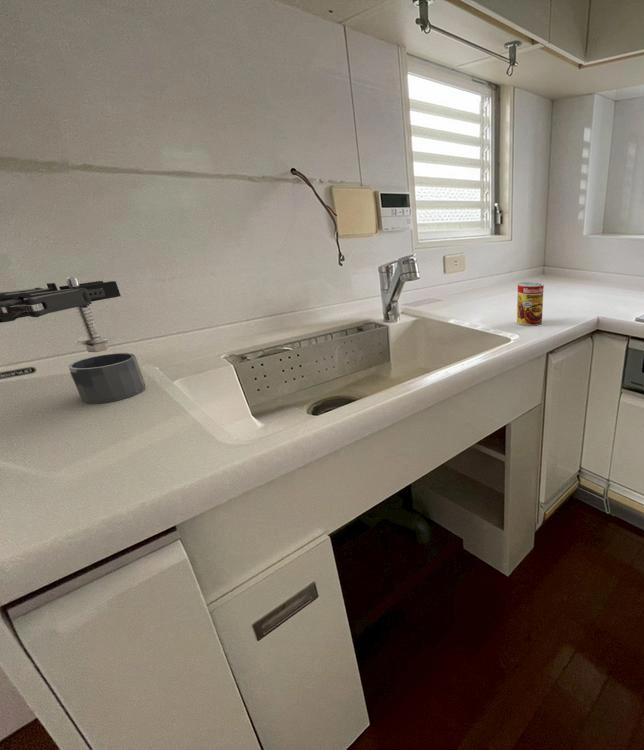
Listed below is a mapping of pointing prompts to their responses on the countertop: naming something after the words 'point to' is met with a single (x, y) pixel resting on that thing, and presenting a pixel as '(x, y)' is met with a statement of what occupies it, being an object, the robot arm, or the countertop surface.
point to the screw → (89, 326)
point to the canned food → (530, 303)
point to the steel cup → (107, 377)
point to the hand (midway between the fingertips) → (109, 288)
